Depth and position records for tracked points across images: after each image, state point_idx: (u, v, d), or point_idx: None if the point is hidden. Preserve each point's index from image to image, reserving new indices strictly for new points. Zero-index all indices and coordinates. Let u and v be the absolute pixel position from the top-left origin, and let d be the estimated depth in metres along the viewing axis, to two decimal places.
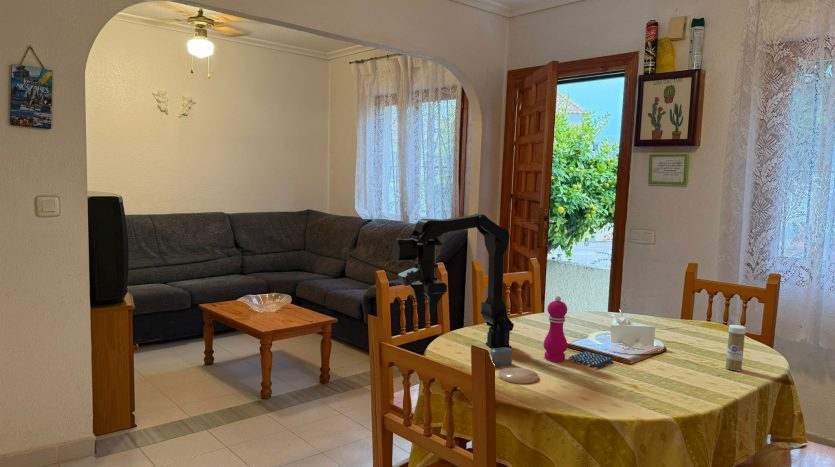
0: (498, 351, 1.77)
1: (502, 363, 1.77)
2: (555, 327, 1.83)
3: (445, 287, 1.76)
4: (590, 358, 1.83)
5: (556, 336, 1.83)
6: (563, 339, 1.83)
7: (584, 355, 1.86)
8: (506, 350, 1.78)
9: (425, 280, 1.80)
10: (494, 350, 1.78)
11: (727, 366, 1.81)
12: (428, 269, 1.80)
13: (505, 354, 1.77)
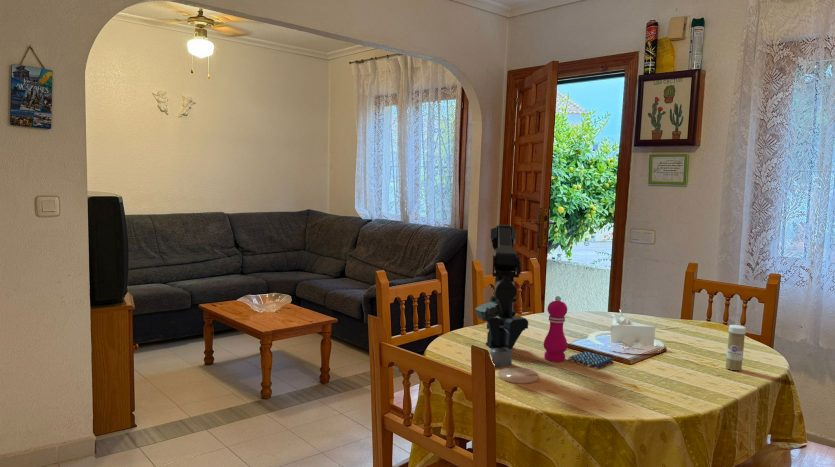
0: (498, 351, 1.77)
1: (502, 363, 1.77)
2: (555, 327, 1.83)
3: (526, 324, 1.70)
4: (590, 358, 1.83)
5: (556, 336, 1.83)
6: (563, 339, 1.83)
7: (584, 355, 1.86)
8: (506, 350, 1.78)
9: (504, 315, 1.75)
10: (494, 350, 1.78)
11: (727, 366, 1.81)
12: (507, 304, 1.74)
13: (505, 354, 1.77)
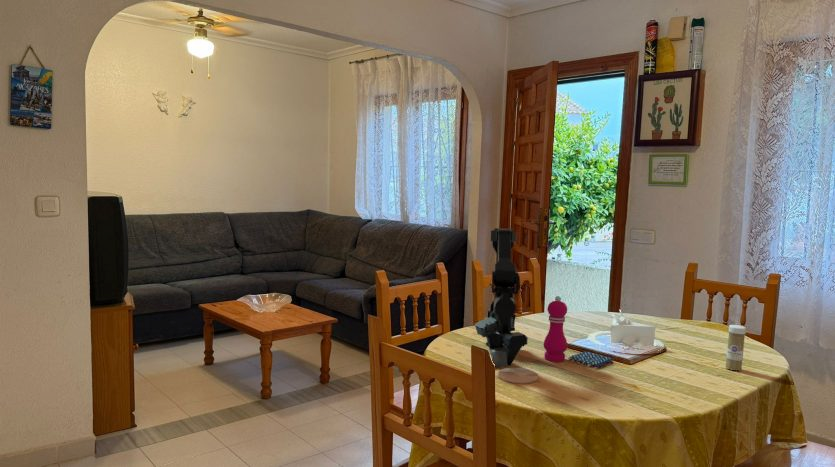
0: (498, 351, 1.77)
1: (502, 363, 1.77)
2: (555, 327, 1.83)
3: (525, 340, 1.70)
4: (590, 358, 1.83)
5: (556, 336, 1.83)
6: (563, 339, 1.83)
7: (584, 355, 1.86)
8: None
9: (503, 331, 1.75)
10: (494, 350, 1.78)
11: (727, 366, 1.81)
12: (506, 320, 1.75)
13: (505, 354, 1.77)
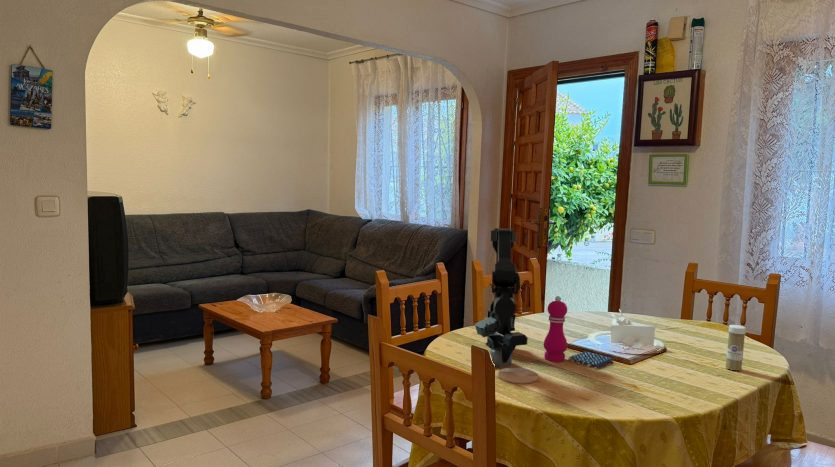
0: (498, 351, 1.77)
1: (502, 363, 1.77)
2: (555, 327, 1.83)
3: (525, 340, 1.70)
4: (590, 358, 1.83)
5: (556, 336, 1.83)
6: (563, 339, 1.83)
7: (584, 355, 1.86)
8: None
9: (503, 331, 1.75)
10: (494, 350, 1.78)
11: (727, 366, 1.81)
12: (506, 320, 1.75)
13: None
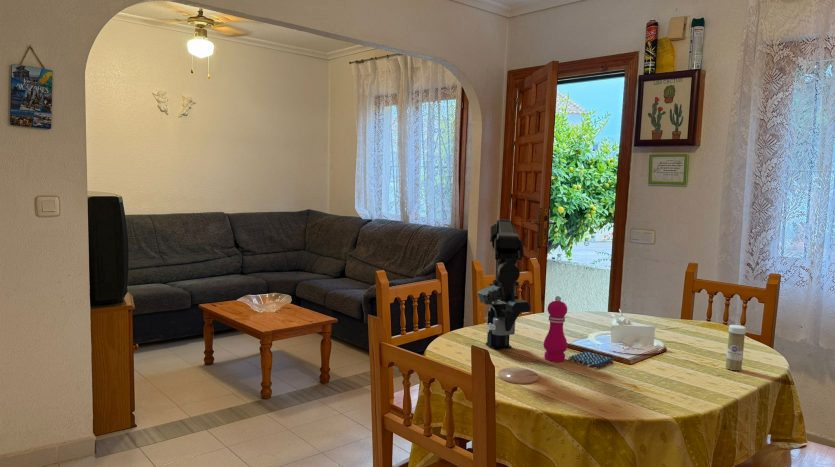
0: (501, 319, 1.75)
1: (505, 331, 1.75)
2: (555, 327, 1.83)
3: (529, 307, 1.68)
4: (590, 358, 1.83)
5: (556, 336, 1.83)
6: (563, 339, 1.83)
7: (584, 355, 1.86)
8: None
9: (506, 298, 1.73)
10: (497, 318, 1.76)
11: (727, 366, 1.81)
12: (509, 287, 1.73)
13: None
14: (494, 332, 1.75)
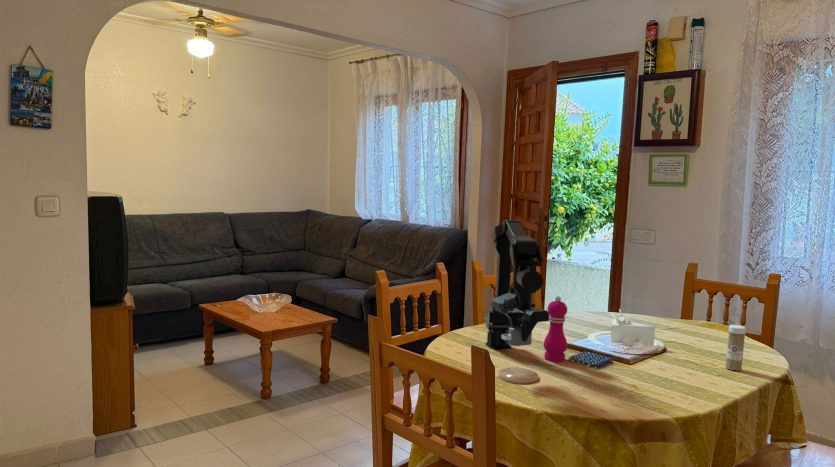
0: (517, 329, 1.66)
1: (521, 342, 1.65)
2: (555, 327, 1.83)
3: (547, 316, 1.59)
4: (590, 358, 1.83)
5: (556, 336, 1.83)
6: (563, 339, 1.83)
7: (584, 355, 1.86)
8: None
9: (523, 307, 1.64)
10: (513, 328, 1.66)
11: (727, 366, 1.81)
12: (526, 295, 1.63)
13: None
14: (510, 342, 1.66)
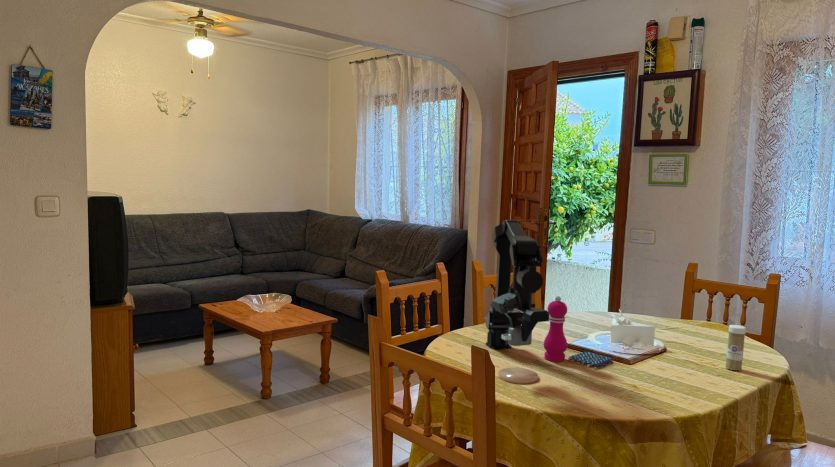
0: (517, 329, 1.66)
1: (521, 342, 1.65)
2: (555, 327, 1.83)
3: (547, 316, 1.59)
4: (590, 358, 1.83)
5: (556, 336, 1.83)
6: (563, 339, 1.83)
7: (584, 355, 1.86)
8: None
9: (523, 307, 1.64)
10: (513, 328, 1.66)
11: (727, 366, 1.81)
12: (526, 295, 1.63)
13: None
14: (510, 342, 1.66)
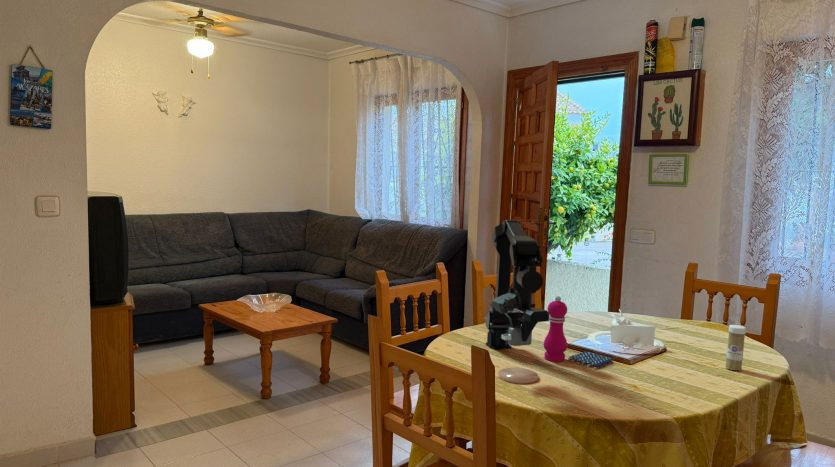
0: (517, 329, 1.66)
1: (521, 342, 1.65)
2: (555, 327, 1.83)
3: (547, 316, 1.59)
4: (590, 358, 1.83)
5: (556, 336, 1.83)
6: (563, 339, 1.83)
7: (584, 355, 1.86)
8: None
9: (523, 307, 1.64)
10: (513, 328, 1.66)
11: (727, 366, 1.81)
12: (526, 295, 1.63)
13: None
14: (510, 342, 1.66)
